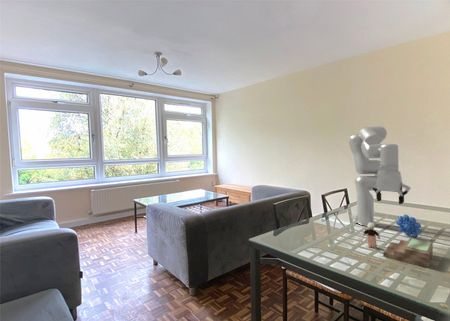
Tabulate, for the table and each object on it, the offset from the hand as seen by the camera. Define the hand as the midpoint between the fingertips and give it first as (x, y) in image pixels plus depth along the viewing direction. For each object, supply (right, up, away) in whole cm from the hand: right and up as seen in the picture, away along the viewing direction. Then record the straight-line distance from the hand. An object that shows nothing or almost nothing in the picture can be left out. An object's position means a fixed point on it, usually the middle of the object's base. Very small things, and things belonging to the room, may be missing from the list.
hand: (389, 202), depth 120 cm
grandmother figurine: (-9, -23, +1) cm, 25 cm away
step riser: (+2, -23, -10) cm, 25 cm away
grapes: (+19, -22, +12) cm, 31 cm away
